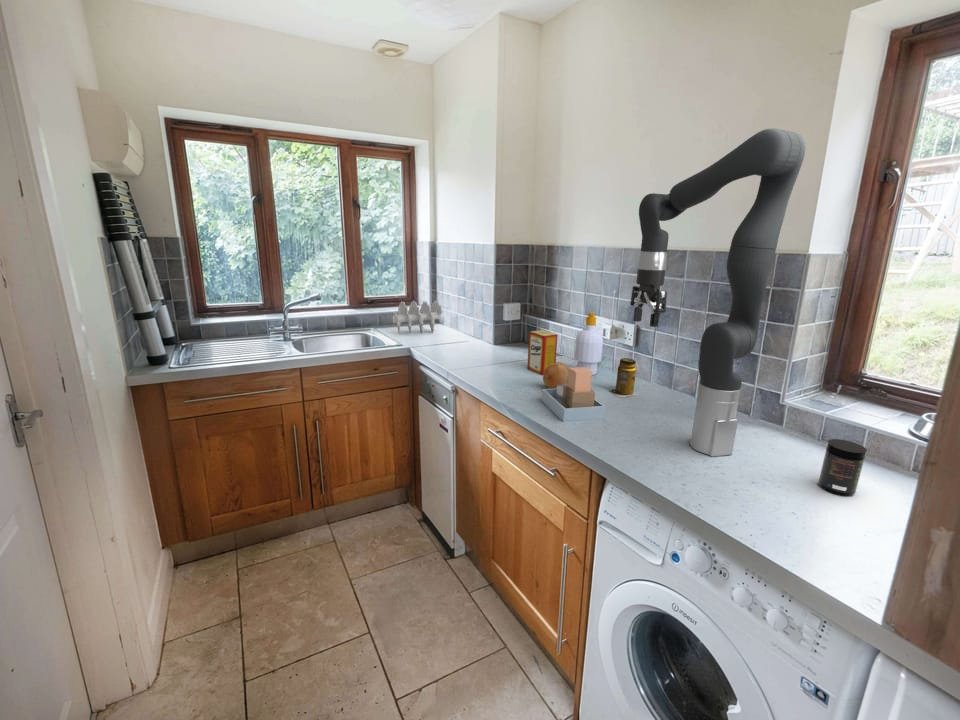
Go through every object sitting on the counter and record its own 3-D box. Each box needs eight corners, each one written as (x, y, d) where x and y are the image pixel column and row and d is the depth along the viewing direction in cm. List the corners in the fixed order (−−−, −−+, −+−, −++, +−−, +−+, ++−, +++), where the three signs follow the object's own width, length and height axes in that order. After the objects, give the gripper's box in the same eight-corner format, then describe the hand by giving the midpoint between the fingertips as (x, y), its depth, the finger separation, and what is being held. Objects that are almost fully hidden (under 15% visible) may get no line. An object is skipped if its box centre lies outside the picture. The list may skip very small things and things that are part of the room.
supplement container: (850, 485, 104) (861, 442, 101) (859, 500, 98) (871, 455, 95) (814, 478, 106) (824, 436, 104) (820, 492, 100) (831, 448, 98)
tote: (604, 420, 137) (605, 406, 136) (563, 423, 134) (564, 409, 133) (578, 399, 154) (579, 387, 153) (541, 402, 151) (542, 389, 150)
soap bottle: (572, 375, 180) (577, 314, 174) (574, 368, 190) (578, 310, 183) (600, 378, 178) (605, 316, 171) (599, 370, 187) (605, 311, 181)
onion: (548, 383, 170) (549, 357, 167) (574, 388, 165) (576, 361, 162) (537, 391, 162) (538, 363, 159) (564, 396, 157) (566, 368, 154)
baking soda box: (554, 373, 183) (557, 333, 179) (542, 375, 180) (544, 335, 176) (540, 367, 191) (542, 329, 187) (527, 369, 188) (529, 330, 184)
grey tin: (579, 407, 145) (580, 389, 144) (560, 408, 144) (561, 390, 142) (571, 400, 151) (572, 382, 150) (552, 401, 150) (553, 383, 148)
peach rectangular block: (590, 391, 136) (592, 371, 134) (574, 392, 135) (576, 372, 133) (583, 385, 141) (584, 367, 139) (567, 386, 140) (569, 367, 138)
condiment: (638, 394, 161) (642, 360, 158) (622, 398, 157) (626, 364, 153) (622, 388, 167) (625, 356, 164) (605, 392, 162) (609, 359, 159)
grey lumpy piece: (393, 339, 252) (437, 334, 260) (398, 331, 236) (445, 327, 244) (388, 307, 255) (432, 303, 263) (392, 297, 238) (439, 293, 246)
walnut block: (592, 417, 137) (595, 392, 135) (570, 419, 136) (572, 393, 134) (582, 409, 144) (584, 384, 142) (561, 410, 142) (563, 385, 140)
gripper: (678, 270, 126) (671, 328, 130) (649, 266, 139) (643, 319, 144) (654, 269, 124) (647, 329, 129) (626, 266, 138) (621, 319, 142)
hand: (645, 323), depth 136 cm, fingers open, 8 cm apart
